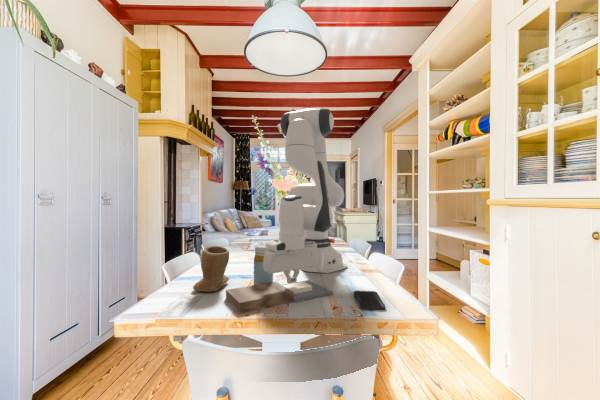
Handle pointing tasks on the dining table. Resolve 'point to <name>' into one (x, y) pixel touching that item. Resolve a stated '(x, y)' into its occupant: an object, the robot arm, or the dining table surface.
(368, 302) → the phone
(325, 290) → the mat
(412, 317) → the dining table surface
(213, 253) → the stone cup
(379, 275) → the dining table surface
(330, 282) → the dining table surface
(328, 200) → the robot arm
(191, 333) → the dining table surface
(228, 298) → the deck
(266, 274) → the bottle
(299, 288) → the tile
